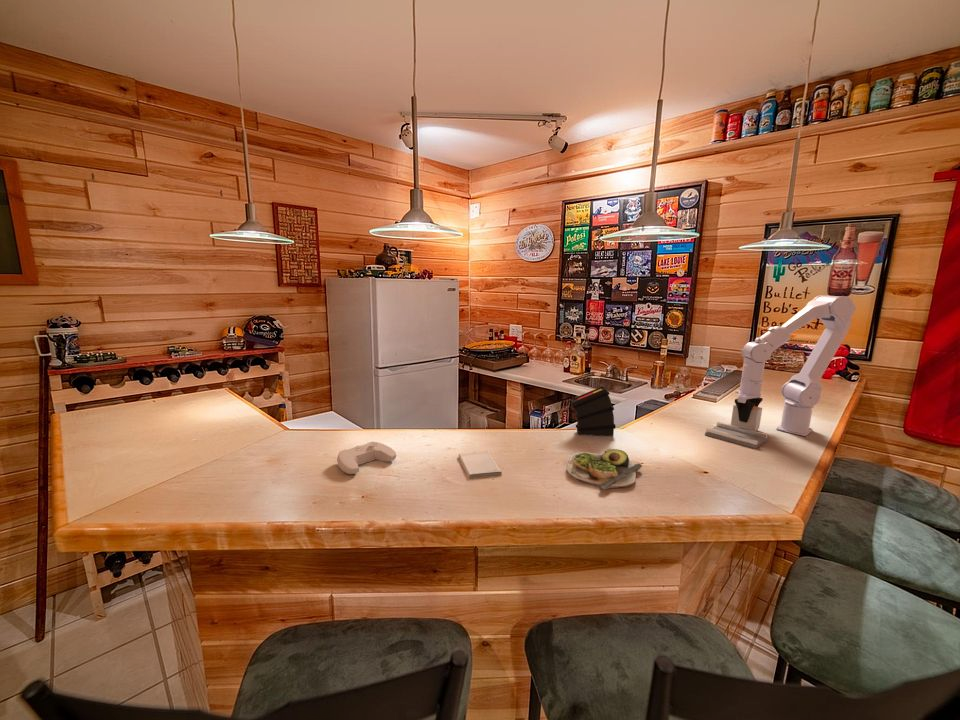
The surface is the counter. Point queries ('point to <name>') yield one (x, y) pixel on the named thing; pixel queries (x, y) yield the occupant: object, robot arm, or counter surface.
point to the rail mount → (737, 435)
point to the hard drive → (479, 465)
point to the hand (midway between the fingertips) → (745, 419)
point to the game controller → (364, 456)
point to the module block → (753, 419)
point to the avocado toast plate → (604, 468)
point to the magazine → (594, 413)
